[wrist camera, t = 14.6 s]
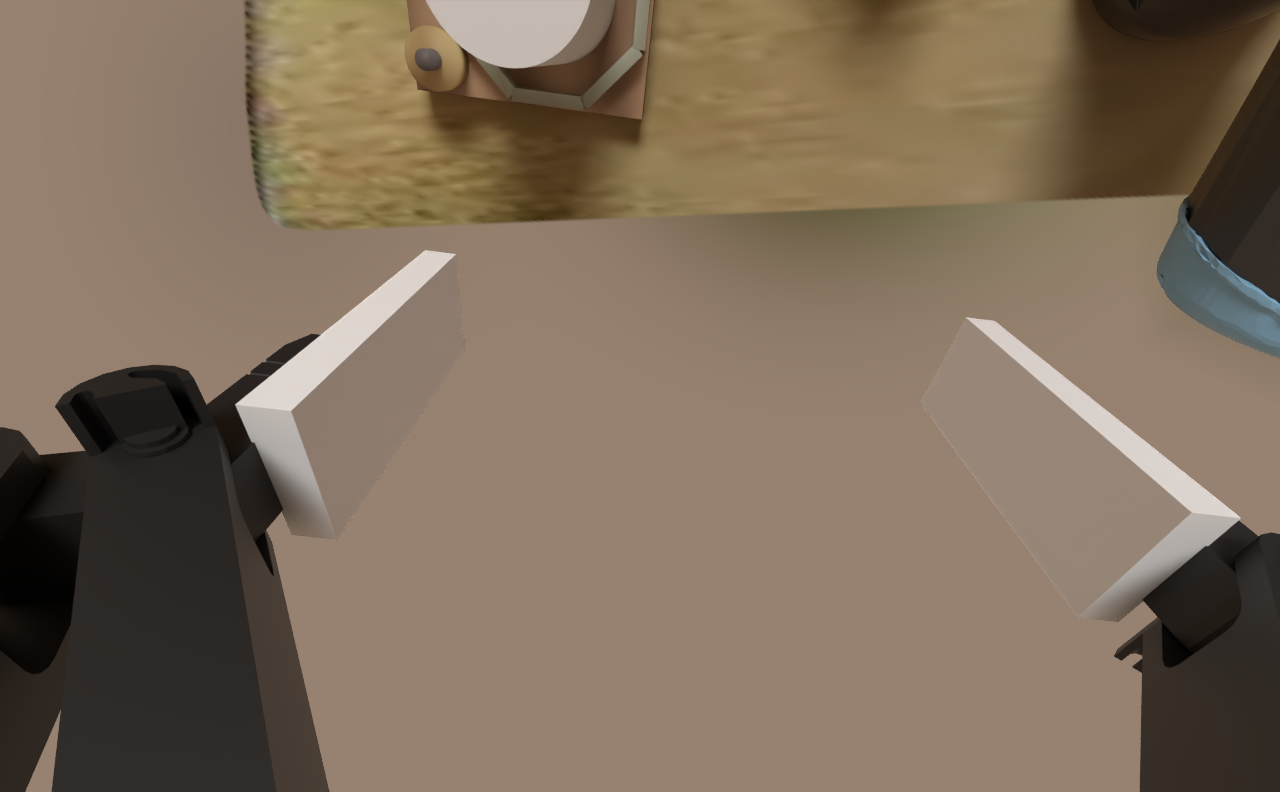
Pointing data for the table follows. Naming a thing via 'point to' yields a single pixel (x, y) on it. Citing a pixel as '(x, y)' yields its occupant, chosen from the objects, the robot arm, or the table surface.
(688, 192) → the table surface
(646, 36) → the gear board
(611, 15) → the tall round pillar
